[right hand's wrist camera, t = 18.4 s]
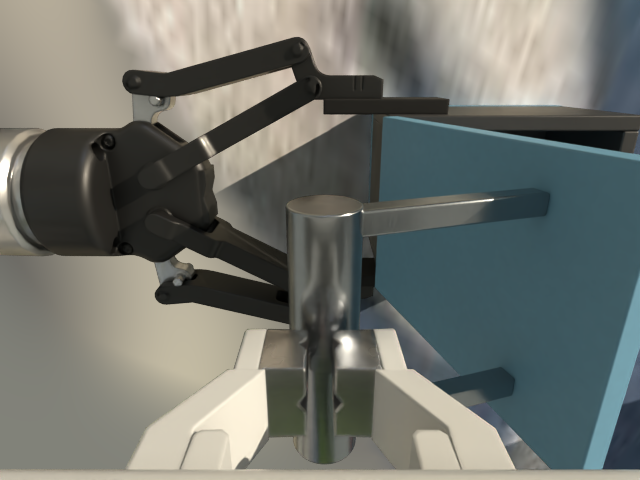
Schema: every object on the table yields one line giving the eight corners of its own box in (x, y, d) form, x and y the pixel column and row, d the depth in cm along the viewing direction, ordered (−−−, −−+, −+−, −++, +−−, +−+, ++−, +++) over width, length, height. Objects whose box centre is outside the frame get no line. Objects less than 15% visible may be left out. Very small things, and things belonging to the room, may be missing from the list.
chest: (556, 105, 29) (644, 115, 21) (532, 233, 33) (601, 284, 24) (372, 105, 30) (388, 115, 21) (367, 232, 33) (379, 283, 25)
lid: (698, 163, 9) (331, 194, 7) (598, 486, 12) (328, 583, 10) (398, 116, 21) (230, 120, 19) (387, 285, 24) (244, 307, 22)
